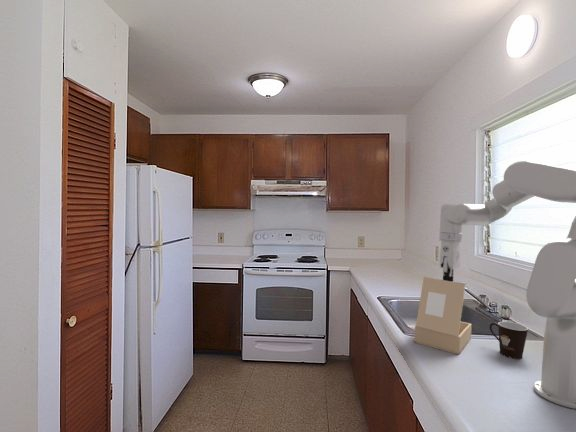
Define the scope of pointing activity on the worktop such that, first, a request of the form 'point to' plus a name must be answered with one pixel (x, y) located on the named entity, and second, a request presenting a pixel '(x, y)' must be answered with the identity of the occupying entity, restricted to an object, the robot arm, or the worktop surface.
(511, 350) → the coffee mug
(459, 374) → the worktop surface
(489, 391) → the worktop surface
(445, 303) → the lid
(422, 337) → the tan shallow rectangular box
